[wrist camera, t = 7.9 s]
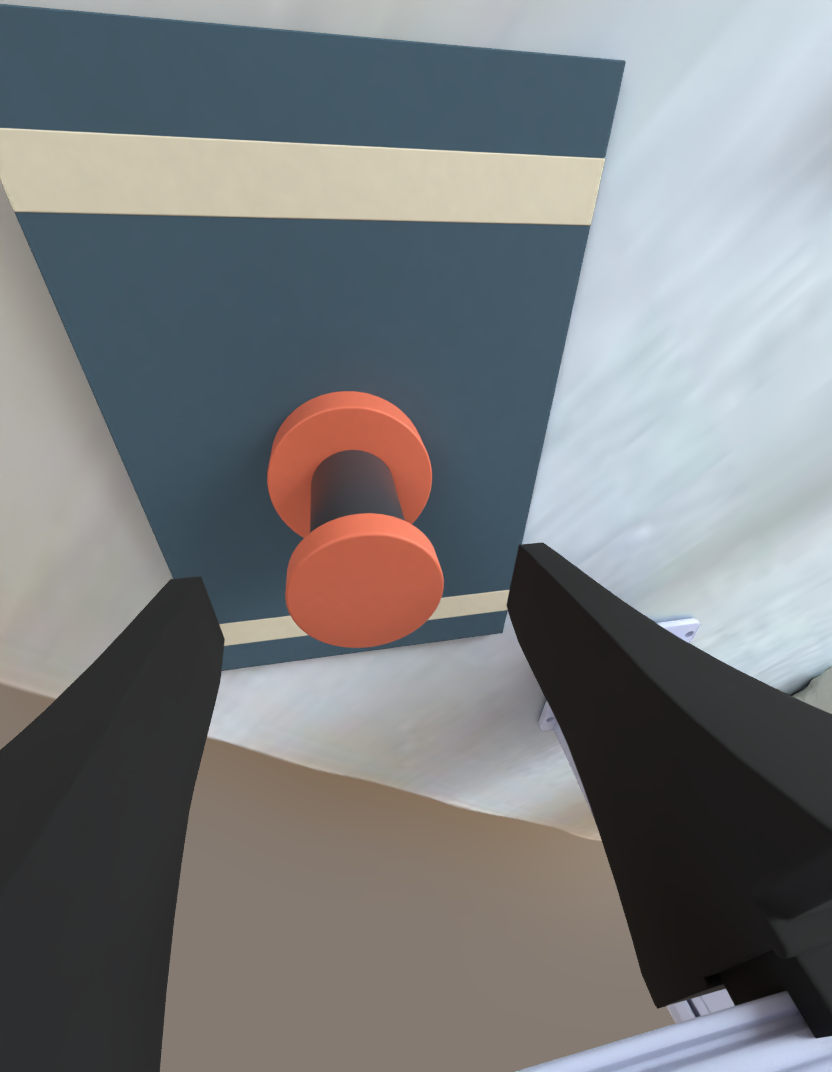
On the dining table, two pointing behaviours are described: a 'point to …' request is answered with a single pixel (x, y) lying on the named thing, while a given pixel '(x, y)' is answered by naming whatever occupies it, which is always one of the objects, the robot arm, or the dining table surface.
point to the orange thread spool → (355, 520)
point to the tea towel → (306, 272)
